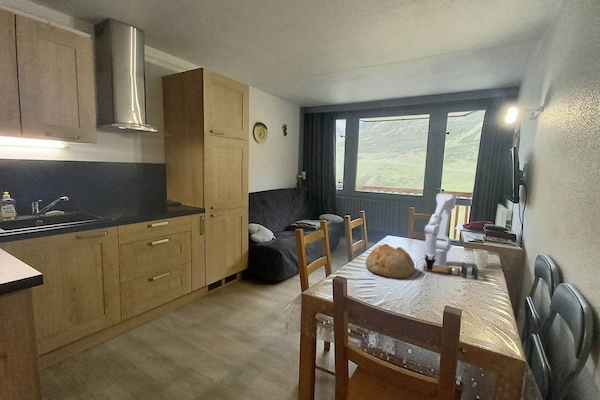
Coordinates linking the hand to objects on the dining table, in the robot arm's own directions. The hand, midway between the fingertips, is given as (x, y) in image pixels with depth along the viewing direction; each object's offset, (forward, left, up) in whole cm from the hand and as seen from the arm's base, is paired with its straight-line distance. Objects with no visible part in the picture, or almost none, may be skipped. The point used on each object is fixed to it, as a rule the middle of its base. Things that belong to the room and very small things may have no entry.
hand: (429, 267), depth 161 cm
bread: (-21, -10, -2) cm, 23 cm away
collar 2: (+23, 0, -1) cm, 23 cm away
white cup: (+28, +21, -2) cm, 35 cm away
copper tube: (+6, 0, -1) cm, 6 cm away
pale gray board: (+11, 0, -2) cm, 11 cm away
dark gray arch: (+18, 0, -1) cm, 18 cm away
